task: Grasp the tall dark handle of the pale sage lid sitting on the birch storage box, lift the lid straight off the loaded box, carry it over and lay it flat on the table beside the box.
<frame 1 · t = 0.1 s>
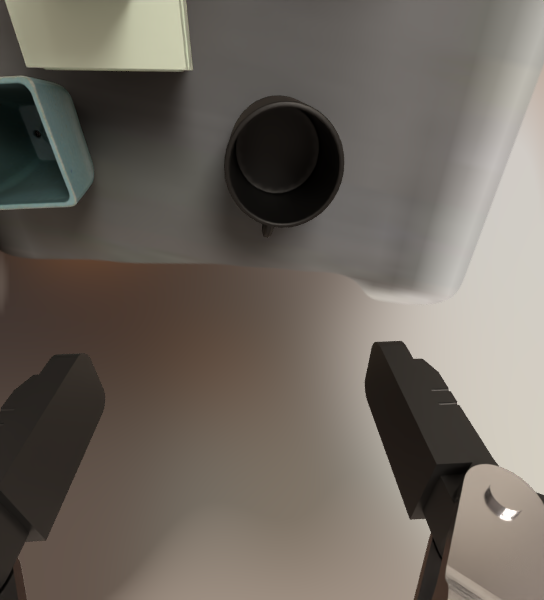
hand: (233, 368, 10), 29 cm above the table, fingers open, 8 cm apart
flower pot: (56, 133, 32), on the table
mug: (274, 163, 34), on the table
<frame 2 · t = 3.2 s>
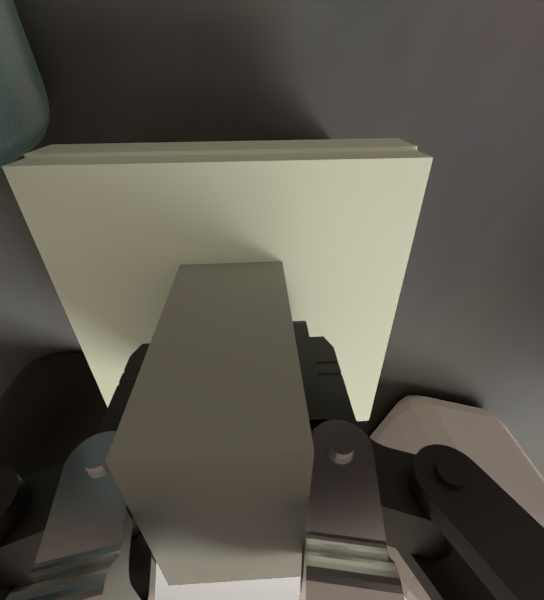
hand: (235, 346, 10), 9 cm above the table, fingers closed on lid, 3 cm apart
soap bottle: (417, 426, 29), on the table
mug: (73, 393, 24), on the table
lid: (238, 312, 12), point 7 cm above the table, touching gripper
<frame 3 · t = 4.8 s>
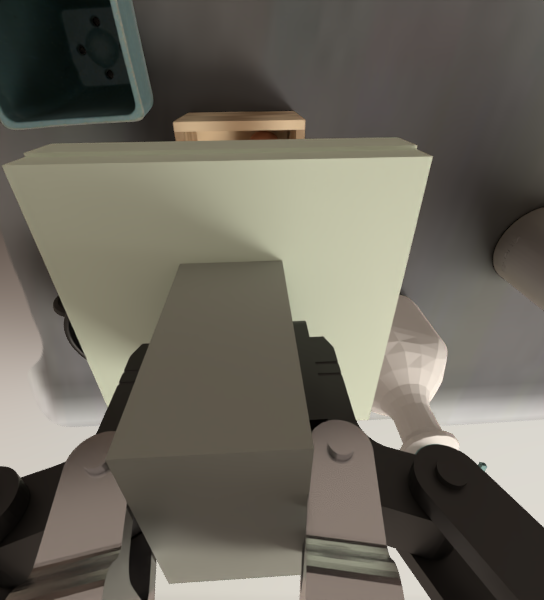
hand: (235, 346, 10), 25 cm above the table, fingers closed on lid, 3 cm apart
soap bottle: (363, 314, 42), on the table
storage box: (244, 167, 31), on the table
flower pot: (104, 47, 26), on the table
mug: (134, 281, 37), on the table
lid: (238, 311, 12), point 23 cm above the table, touching gripper
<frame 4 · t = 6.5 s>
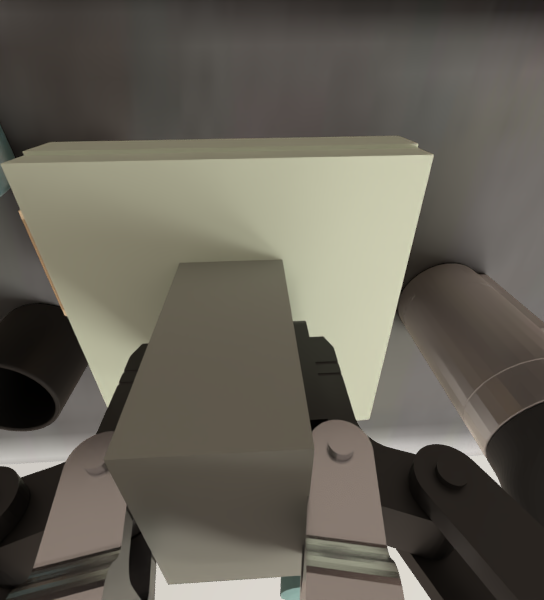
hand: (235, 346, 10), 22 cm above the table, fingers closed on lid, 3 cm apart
soap bottle: (278, 362, 42), on the table
mug: (41, 333, 38), on the table
lid: (238, 310, 12), point 20 cm above the table, touching gripper
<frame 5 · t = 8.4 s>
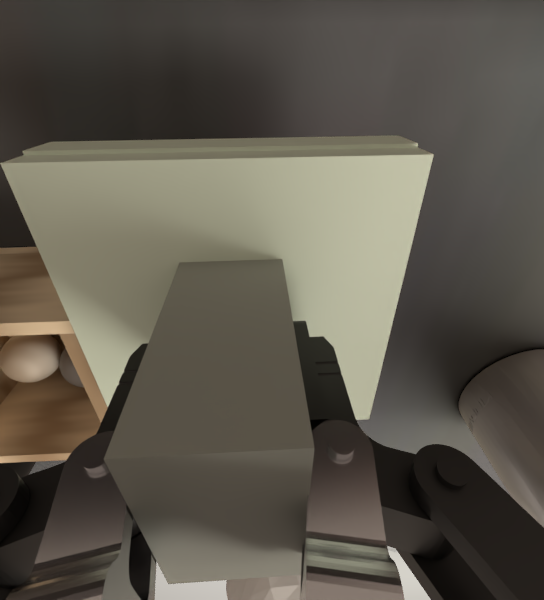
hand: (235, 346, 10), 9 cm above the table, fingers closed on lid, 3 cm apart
soap bottle: (290, 461, 31), on the table
storage box: (72, 313, 21), on the table
lid: (238, 310, 12), point 8 cm above the table, touching gripper
when the fingers open (5 cm above the table, at t = 9.8 s): lid drops 2 cm, point 1 cm above the table.
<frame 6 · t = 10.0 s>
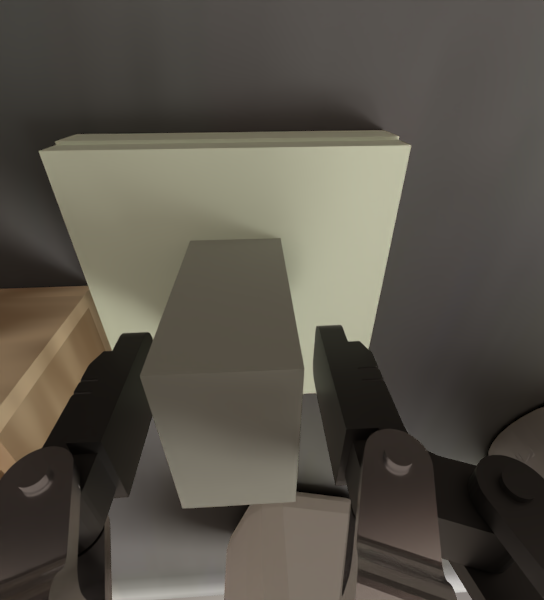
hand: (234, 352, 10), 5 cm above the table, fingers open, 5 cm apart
soap bottle: (293, 510, 28), on the table
storage box: (29, 364, 17), on the table
lid: (240, 287, 13), point 1 cm above the table
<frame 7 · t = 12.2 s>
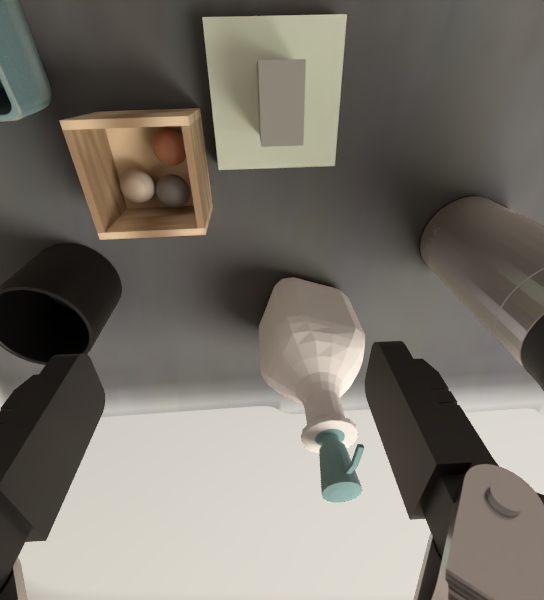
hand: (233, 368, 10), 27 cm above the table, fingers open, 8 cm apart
soap bottle: (300, 307, 43), on the table
storage box: (159, 163, 32), on the table
flower pot: (6, 50, 27), on the table
mug: (68, 277, 38), on the table
lid: (275, 99, 28), point 1 cm above the table
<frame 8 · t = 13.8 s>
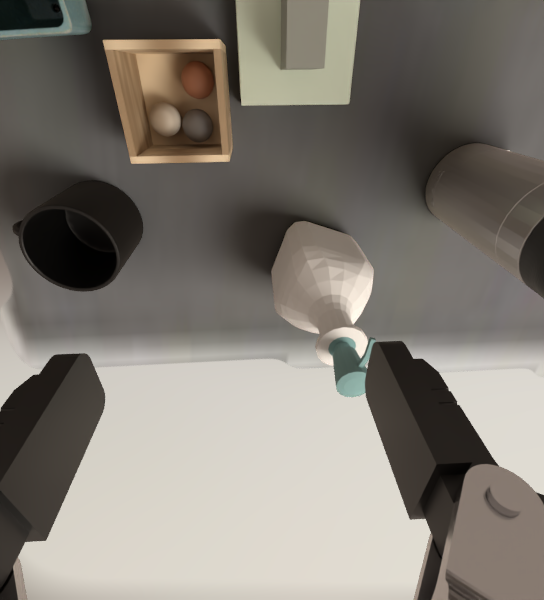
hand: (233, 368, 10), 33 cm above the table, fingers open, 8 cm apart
soap bottle: (311, 255, 45), on the table
storage box: (185, 101, 34), on the table
mug: (93, 217, 40), on the table
lid: (296, 36, 30), point 1 cm above the table
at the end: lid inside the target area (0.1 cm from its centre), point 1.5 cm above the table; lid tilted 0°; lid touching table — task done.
